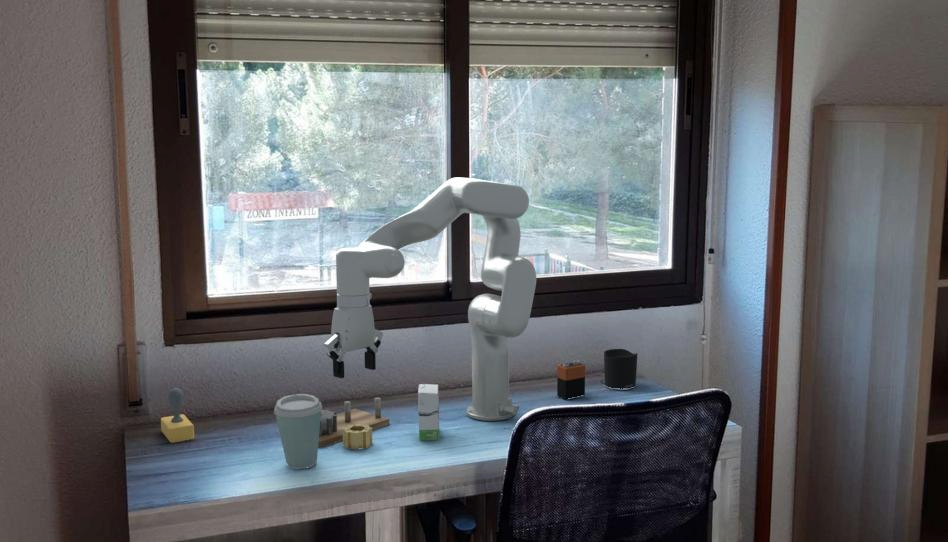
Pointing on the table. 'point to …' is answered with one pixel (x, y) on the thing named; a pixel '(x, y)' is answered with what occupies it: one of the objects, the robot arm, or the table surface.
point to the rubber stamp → (177, 420)
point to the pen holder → (620, 368)
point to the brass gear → (357, 436)
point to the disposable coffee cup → (299, 428)
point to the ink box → (428, 412)
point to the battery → (571, 379)
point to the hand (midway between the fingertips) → (354, 373)
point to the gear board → (347, 422)
